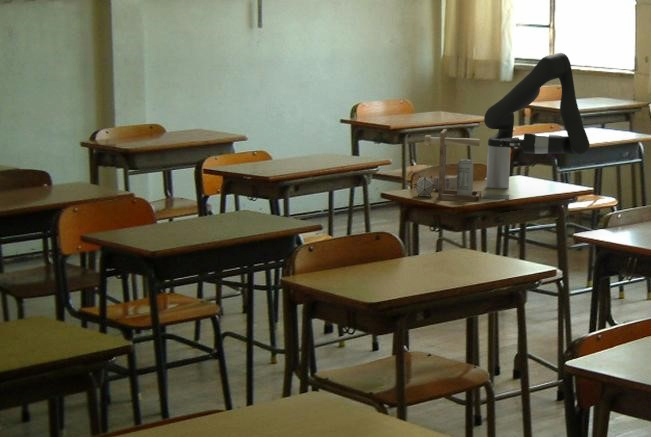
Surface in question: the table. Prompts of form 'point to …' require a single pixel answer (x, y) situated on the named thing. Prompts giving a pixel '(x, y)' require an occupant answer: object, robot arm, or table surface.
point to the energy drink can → (465, 177)
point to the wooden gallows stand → (442, 192)
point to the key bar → (451, 141)
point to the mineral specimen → (447, 182)
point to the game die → (424, 186)
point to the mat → (496, 196)
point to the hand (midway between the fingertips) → (490, 142)
